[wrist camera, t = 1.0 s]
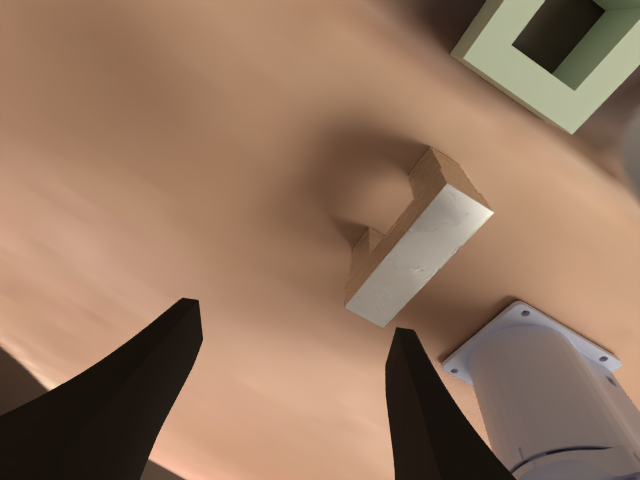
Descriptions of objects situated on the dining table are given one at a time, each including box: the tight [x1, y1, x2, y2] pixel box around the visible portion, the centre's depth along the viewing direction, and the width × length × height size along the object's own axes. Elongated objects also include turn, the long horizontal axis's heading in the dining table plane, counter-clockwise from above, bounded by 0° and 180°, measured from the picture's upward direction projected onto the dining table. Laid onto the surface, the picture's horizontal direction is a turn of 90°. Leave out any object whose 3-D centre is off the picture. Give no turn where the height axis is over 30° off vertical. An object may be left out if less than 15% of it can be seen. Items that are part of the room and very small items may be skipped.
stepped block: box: [344, 146, 494, 328], centre depth 19 cm, size 2×8×6 cm, turn 150°
